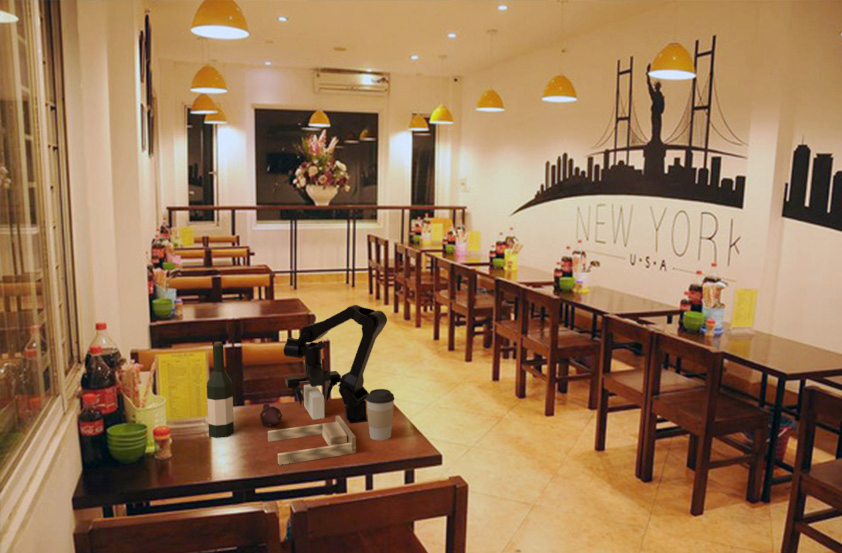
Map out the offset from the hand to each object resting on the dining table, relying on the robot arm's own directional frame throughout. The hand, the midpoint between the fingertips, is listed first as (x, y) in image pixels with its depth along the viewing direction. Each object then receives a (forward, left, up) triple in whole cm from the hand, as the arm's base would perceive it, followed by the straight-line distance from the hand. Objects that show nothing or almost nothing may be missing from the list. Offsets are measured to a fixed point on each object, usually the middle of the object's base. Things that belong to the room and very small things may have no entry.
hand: (313, 402), depth 226 cm
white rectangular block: (0, 0, -4) cm, 4 cm away
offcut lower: (0, +29, -4) cm, 29 cm away
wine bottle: (+32, +8, -4) cm, 33 cm away
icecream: (+16, +7, -4) cm, 18 cm away
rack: (+8, +29, -3) cm, 30 cm away
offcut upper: (0, +29, -2) cm, 29 cm away
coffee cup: (-15, +29, -4) cm, 33 cm away
